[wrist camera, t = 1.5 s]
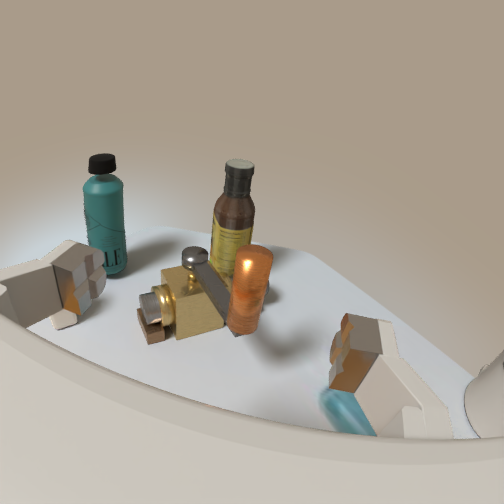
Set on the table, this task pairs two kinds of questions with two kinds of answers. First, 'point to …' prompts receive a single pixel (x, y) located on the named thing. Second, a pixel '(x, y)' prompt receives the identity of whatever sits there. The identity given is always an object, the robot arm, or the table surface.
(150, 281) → the table surface
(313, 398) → the table surface
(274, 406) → the table surface
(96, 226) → the beverage bottle
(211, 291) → the crank handle
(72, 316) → the pepper shaker
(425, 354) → the table surface
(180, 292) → the ball valve
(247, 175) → the sauce bottle
